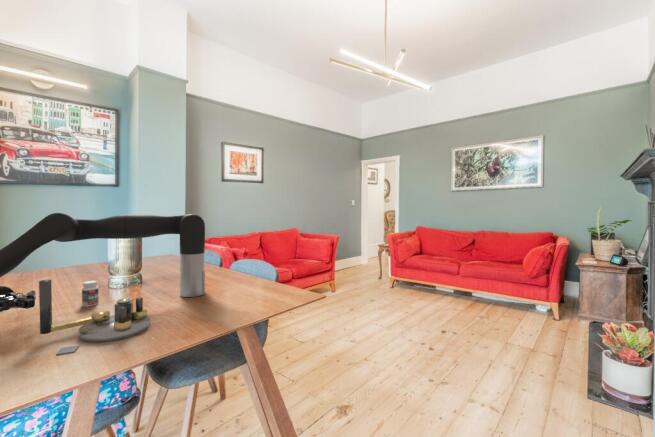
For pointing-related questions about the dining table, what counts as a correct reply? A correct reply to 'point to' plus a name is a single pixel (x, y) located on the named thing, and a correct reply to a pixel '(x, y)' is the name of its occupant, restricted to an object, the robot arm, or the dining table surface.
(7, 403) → the dining table surface
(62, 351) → the plate
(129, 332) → the tribrach plate
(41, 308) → the lever
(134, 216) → the robot arm
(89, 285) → the pill bottle
